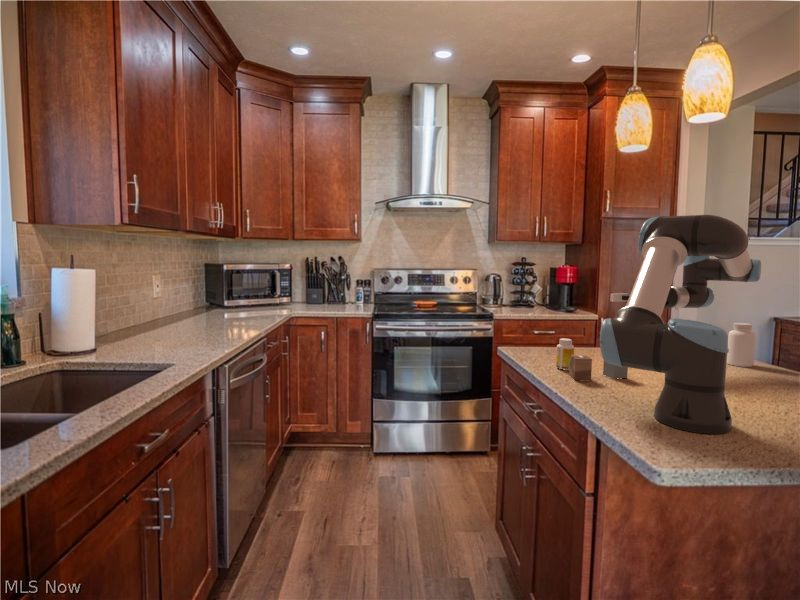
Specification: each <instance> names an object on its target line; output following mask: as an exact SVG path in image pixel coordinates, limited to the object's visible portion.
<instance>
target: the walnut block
mask: <svg viewBox="0 0 800 600" xmlns="http://www.w3.org/2000/svg"><path fill="white" fill-rule="evenodd" d="M592 364H593V358H591V357H589V356H588V355H586V354H585V355H583V354H582V355H580V354H579V355H577V354H574V355H570V370H568V372H569V373H568V374H569V375H568V376H571V377H572V378H573V379H574V380H591V381H592V368H593V367H592V366H593V365H592ZM573 379H572V380H573ZM574 380H573V381H574Z"/></svg>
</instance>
